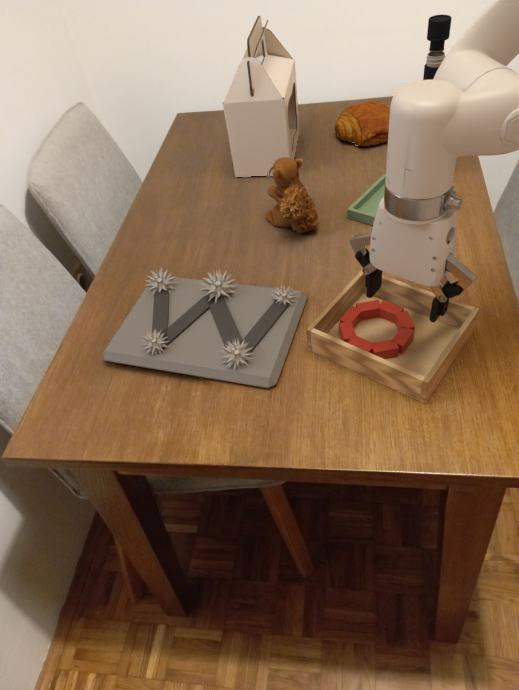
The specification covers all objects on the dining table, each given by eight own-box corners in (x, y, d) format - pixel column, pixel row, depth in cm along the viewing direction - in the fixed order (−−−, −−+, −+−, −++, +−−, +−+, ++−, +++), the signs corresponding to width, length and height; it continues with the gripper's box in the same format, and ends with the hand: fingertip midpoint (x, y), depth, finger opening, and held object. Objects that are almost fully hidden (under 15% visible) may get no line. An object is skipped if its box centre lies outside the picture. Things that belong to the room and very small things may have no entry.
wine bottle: (406, 180, 113) (419, 24, 91) (409, 165, 117) (423, 12, 95) (437, 182, 111) (458, 23, 90) (439, 166, 115) (460, 11, 94)
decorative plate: (101, 365, 87) (86, 335, 82) (156, 281, 100) (145, 251, 95) (275, 394, 78) (270, 363, 73) (309, 298, 91) (307, 266, 86)
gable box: (291, 176, 120) (279, 42, 100) (235, 178, 123) (212, 48, 103) (300, 131, 135) (291, 7, 115) (249, 134, 138) (232, 13, 117)
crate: (473, 333, 81) (479, 308, 77) (424, 407, 73) (428, 383, 69) (362, 291, 91) (362, 267, 87) (308, 352, 83) (305, 329, 79)
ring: (424, 325, 83) (425, 315, 81) (390, 370, 77) (391, 361, 76) (363, 301, 88) (363, 292, 87) (327, 342, 83) (326, 333, 81)
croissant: (331, 136, 136) (326, 106, 130) (389, 116, 134) (386, 84, 129) (347, 161, 125) (342, 129, 120) (410, 139, 124) (408, 106, 119)
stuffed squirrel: (305, 199, 113) (300, 141, 103) (333, 233, 103) (331, 172, 94) (261, 213, 112) (253, 155, 102) (286, 248, 102) (280, 188, 92)
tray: (454, 198, 106) (455, 189, 105) (418, 239, 99) (419, 230, 97) (385, 181, 114) (385, 172, 113) (347, 218, 106) (346, 209, 105)
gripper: (502, 199, 60) (475, 309, 72) (368, 166, 68) (363, 270, 80) (475, 233, 56) (451, 343, 68) (336, 193, 64) (337, 298, 77)
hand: (404, 303), depth 74 cm, fingers open, 9 cm apart
